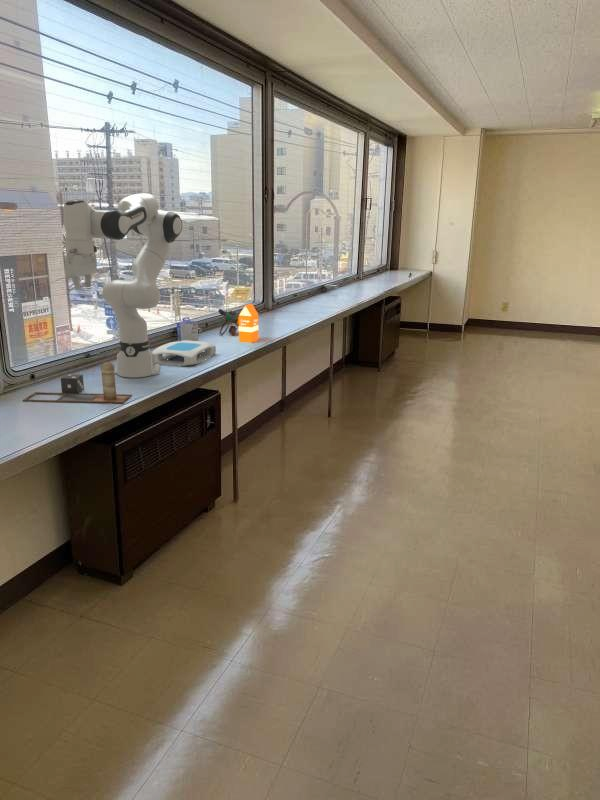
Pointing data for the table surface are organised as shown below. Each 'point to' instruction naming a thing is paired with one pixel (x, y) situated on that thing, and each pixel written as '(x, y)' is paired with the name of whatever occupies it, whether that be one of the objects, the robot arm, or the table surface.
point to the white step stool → (184, 352)
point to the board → (82, 398)
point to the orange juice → (248, 324)
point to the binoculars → (231, 319)
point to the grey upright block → (187, 330)
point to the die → (72, 383)
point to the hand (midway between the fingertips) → (83, 288)
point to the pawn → (108, 381)
